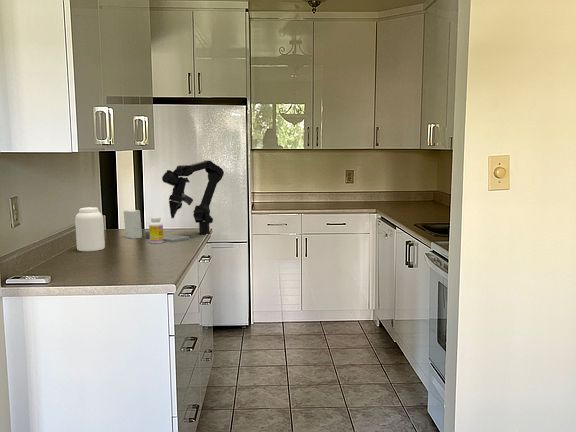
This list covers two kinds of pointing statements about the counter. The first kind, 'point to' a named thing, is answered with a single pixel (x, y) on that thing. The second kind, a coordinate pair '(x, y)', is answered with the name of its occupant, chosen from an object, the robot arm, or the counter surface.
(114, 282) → the counter surface
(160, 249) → the counter surface
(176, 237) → the grey flat square piece
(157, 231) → the supplement bottle
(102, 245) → the white jar
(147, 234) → the dark grey thick disc
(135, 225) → the skincare box
